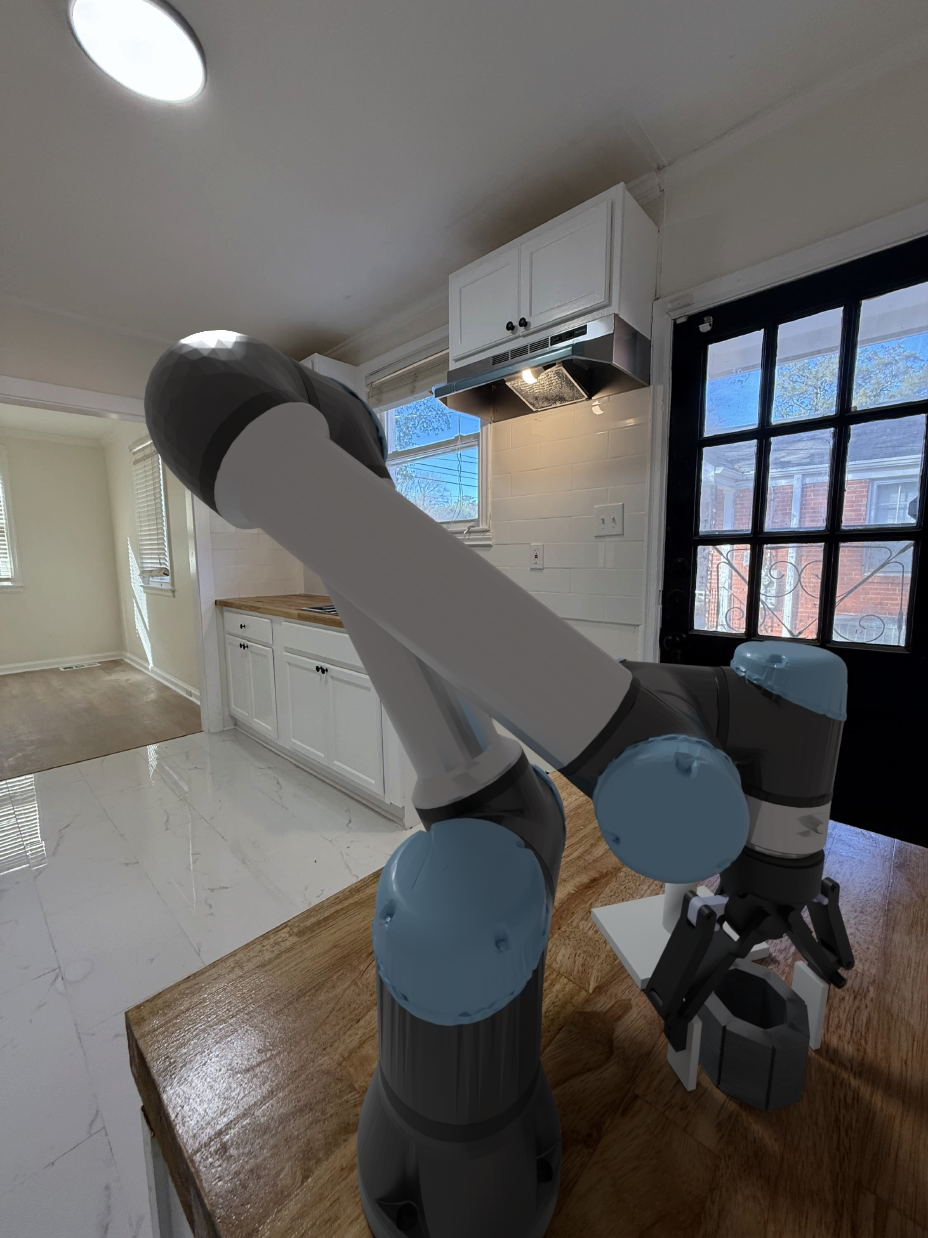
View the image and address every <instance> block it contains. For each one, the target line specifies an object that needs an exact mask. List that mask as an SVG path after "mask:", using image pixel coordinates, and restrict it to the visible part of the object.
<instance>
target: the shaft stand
mask: <svg viewBox="0 0 928 1238" xmlns="http://www.w3.org/2000/svg"><path fill="white" fill-rule="evenodd" d="M698 883H699V882H695V883H688V884H672V883H665V885H664V886H665V887H664V888H665V889H664V893H661V894H657V895H652V896H647V897H643V898H642V897H641V898H638V899H633V900H627V901H623V902H618V903H614V904H609V905H608V904H607V905H604V906H600V907H599V906H598V907H594V908H591V911H590V912H591V913H590V915H591V916H590V918H591V920H592V922H593V923H594V925H595V926H596V928H598V930H599V932H600V933H601V934H602V936H603V937H604V939H605V940H606V942H607V944H609V946H610V947H611V949H612V950H613V952H614V953H615V955H616V956H617V958H618V959H619V961H620V962H621V964H622V965H623V967H624V968H625V969H626V971H627V972H628V974H629V976H630V977H631V978H632V980H633V981H634V983H635V985H637V987H638V988H639V990H645V988H646V986H647V984H648V982H649V980H650V977H651V975H652V973H653V971H654V969H655V967H656V965H657V963H658V961H659V959H660V957H661V955H662V953H663V951H664V948H665V946H666V944H667V942H668V940H669V938H670V936H671V934H672V932H673V930H674V928H675V926H676V924H677V921H678V919H679V917H680V914H681V908H682V902H683V897H684V894H685V893H686V892H687V891H689V890H693V891H694V892H695V893H697V894H698V895H699V896H700V897H709V896H714V892H712V890H710V889H709V888H708V887H706V885H701V886H700V885H698ZM723 929H724V930H725V931H726V932H727V933H728V934H729V935H730V936H731V937H732V938H733V939H734V940H735V941H737V940H738V938H739V936H738V935H737V934H736V933H735V932H734V931H733V930H732V929H731V928H730V927H729V925H728V924H727V922H726V921H725V923H724V924H723ZM769 954H770V945H768V943H766V941H765V942H763V943H761V944H758V945H755V946H754V947H753V948H752V950H751V951H750V952H749V954H748V955H747V957H746V958H744V959H746V960H748V961H751V962H754V961H756V960H760V959H763V958H767V957H769Z"/></svg>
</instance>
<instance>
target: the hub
mask: <svg viewBox="0 0 928 1238" xmlns="http://www.w3.org/2000/svg"><path fill="white" fill-rule="evenodd" d="M696 1015H697V1016H698V1018H699V1019H700V1020H701V1021H702V1028H701V1038H700V1048H699V1058H698V1064H699V1065H700V1067H701V1068H702V1069H703V1071H704V1072H705V1073H706V1074H707V1076H708V1078H709V1079H710V1081H711V1082H712V1083H713V1085H714V1087H717V1088H718V1087H719V1091H721V1092H723V1093H725V1094H727V1095H729V1096H731V1097H733V1098H735V1099H737V1100H738V1101H741V1102H743V1103H745V1104H747V1105H749V1106H751V1107H753V1108H755V1109H758V1110H760V1111H762V1112H763V1113H765V1111H766V1112H767V1113H771V1112H774V1111H777V1110H779V1109H781V1108H784V1107H788V1106H789V1105H793V1104H795V1103H799V1102H801V1099H802V1097H803V1096H802V1095H803V1091H804V1083H805V1076H806V1069H807V1061H808V1055H809V1054H808V1053H809V1048H810V1046H809V1042H810V1029H809V1019H808V1009H807V1005H806V1004H805V1001H804V1000H803V999H802V998H801V997H800V996H799V995H798V994H797V993H796V992H795V991H794V990H793V989H792V986H790V985H789V984H788V983H787V982H785V980H784V979H783V978H782V977H781V976H780V975H779V974H778V973H777V972H776V971H775V970H771V968H770V967H767V966H764V965H761V964H759V963H755V962H754V961H748V960H746V959H741V958H737V959H736V960H735V961H734V963H733V964H732V966H731V967H730V968H729V970H728V971H727V973H726V974H725V975H724V977H723V978H722V979H721V981H720V982H719V984H718V985H717V986H716V988H715V989H714V991H713V992H712V993H711V995H710V996H709V997H708V999H707V1000H706V1002H705V1003H704V1004H703V1006H702V1007H701V1009H700V1010H699V1011H698V1013H697V1014H696Z"/></svg>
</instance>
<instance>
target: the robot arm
mask: <svg viewBox="0 0 928 1238" xmlns="http://www.w3.org/2000/svg"><path fill="white" fill-rule="evenodd" d="M143 405H144V406H143V407H144V408H143V409H144V416H145V418H144V419H145V424H146V427H147V430H148V434H149V437H150V439H151V441H152V442H151V443H152V444H153V446H154V448H155V449H156V453H158V455H159V457H160V459H161V460H162V462H163V463H164V465H166V467H167V468H168V469H169V471H170V472H171V473H172V474H173V475H174V477H176V478H177V479H178V481H179V482H180V483H181V484H182V485H184V486H185V488H186V489H187V490H188V491H189V492H191V494H193V495H194V496H196V497H197V498H198V500H200V501H201V502H202V503H203V504H205V505H206V506H207V507H208V508H210V509H211V510H212V511H214V512H215V513H216V514H217V515H218V516H220V517H221V518H222V519H223V520H224V521H226V523H228V524H229V525H231V526H232V527H235V528H237V529H240V530H255V529H256V530H257V529H260V530H261V531H262V532H264V533H265V534H266V535H267V536H269V538H270V539H272V540H274V541H275V542H276V543H277V544H279V545H280V546H281V547H282V548H283V549H285V550H286V551H287V552H288V553H290V555H292V556H293V557H295V558H296V559H297V560H298V561H299V562H300V563H301V564H303V565H304V566H305V567H306V568H308V569H309V570H310V571H311V572H313V573H314V574H316V576H318V577H319V578H320V580H321V581H322V584H323V586H324V588H325V590H326V592H327V594H328V597H329V599H330V600H331V603H332V604H333V607H334V610H335V611H336V613H337V615H338V618H339V619H340V621H341V623H342V625H343V627H344V629H345V631H346V633H347V635H348V637H349V639H350V641H351V643H352V645H353V647H354V650H355V652H356V654H357V656H358V657H359V659H360V662H361V664H362V666H363V669H365V672H366V674H367V676H368V678H369V680H370V683H371V684H372V686H373V689H374V690H375V692H376V694H377V696H378V699H379V700H380V703H381V704H382V706H383V708H384V710H385V712H386V715H387V717H388V718H389V721H390V722H391V725H392V728H393V729H394V731H395V733H396V735H397V737H398V738H399V741H400V743H401V745H402V747H403V749H404V751H405V753H406V755H407V757H408V759H409V761H410V763H411V766H412V767H413V769H414V772H415V773H416V777H417V778H416V781H415V784H414V786H413V790H412V793H411V797H410V799H411V803H412V805H413V807H414V809H415V812H416V813H417V815H418V817H419V820H420V821H421V823H422V825H423V828H424V830H425V831H424V830H422V829H420V830H418V831H416V832H414V833H413V834H411V835H410V836H409V837H406V839H404V841H403V842H402V843H401V844H400V845H398V846H397V848H395V850H394V851H393V852H392V854H391V855H390V857H389V859H388V860H387V861H386V862H385V865H384V867H383V868H382V871H381V874H380V876H379V879H378V884H377V889H376V895H375V905H374V914H373V915H374V916H373V918H372V923H371V926H372V927H371V929H372V950H373V955H374V962H375V963H374V965H375V983H376V984H375V990H376V991H375V992H376V1014H377V1015H376V1016H377V1042H378V1043H377V1045H378V1047H377V1048H378V1060H377V1063H376V1066H375V1067H374V1071H373V1074H372V1076H371V1079H370V1081H369V1085H368V1088H367V1090H366V1093H365V1096H364V1099H363V1103H362V1105H361V1110H360V1114H359V1117H358V1118H359V1119H358V1125H357V1133H356V1167H357V1168H356V1169H357V1184H358V1192H359V1197H360V1200H361V1206H362V1209H363V1212H364V1215H365V1218H366V1220H367V1223H368V1225H369V1227H370V1229H371V1232H372V1234H373V1236H374V1238H543V1237H544V1235H545V1234H546V1231H547V1229H548V1227H549V1225H550V1223H551V1220H552V1218H553V1214H554V1212H555V1209H556V1205H557V1202H558V1201H557V1200H558V1198H559V1197H558V1196H559V1193H560V1188H561V1176H562V1175H561V1174H562V1155H563V1139H562V1137H563V1136H562V1128H561V1120H560V1115H559V1114H560V1113H559V1110H558V1107H557V1106H558V1104H557V1103H556V1099H555V1096H554V1093H553V1090H552V1087H551V1085H550V1082H549V1079H548V1076H547V1073H546V1070H545V1067H544V1064H543V1061H542V1058H541V1052H542V1051H541V1050H542V1027H543V1026H542V1025H543V1024H542V1022H543V1000H544V999H543V996H544V985H545V984H544V983H545V972H546V971H545V970H546V962H547V953H548V947H549V941H550V934H551V928H552V919H553V913H554V907H555V902H556V901H555V900H556V896H557V895H556V894H557V889H558V884H559V883H558V882H559V877H560V872H561V865H562V859H563V853H565V848H566V844H567V825H566V821H567V819H566V813H565V805H564V802H563V798H562V796H561V793H560V792H559V788H557V786H556V784H555V782H554V781H553V780H552V778H551V777H550V776H549V775H548V774H547V773H546V771H544V769H542V768H541V767H540V766H538V765H537V764H536V763H535V764H533V763H531V762H530V760H529V759H528V757H527V755H526V753H525V750H524V748H523V746H522V745H521V744H520V742H522V744H524V746H526V747H527V748H528V749H530V750H531V751H533V752H534V753H535V754H536V755H537V756H538V757H540V758H541V759H542V760H543V761H545V762H546V763H547V764H548V765H550V766H551V767H552V768H553V769H554V770H555V771H557V772H558V773H559V774H561V775H562V776H563V778H565V779H566V780H567V781H568V782H570V784H572V785H573V786H574V787H576V789H578V790H579V791H581V792H582V794H584V795H585V796H586V797H588V798H589V799H590V800H591V801H592V805H593V810H594V812H593V813H594V816H595V819H596V821H597V822H596V823H597V825H598V828H599V831H600V834H601V837H602V838H603V840H604V842H605V844H606V845H607V846H608V848H609V850H610V851H611V853H612V854H613V856H614V857H616V858H617V860H619V862H620V863H621V864H623V865H625V867H627V868H628V869H630V870H631V871H632V872H635V873H637V874H638V875H641V876H642V877H645V878H647V879H650V880H654V881H656V882H660V883H665V884H666V883H672V884H688V883H695V882H698V883H699V882H703V881H705V880H709V879H710V878H714V877H715V876H717V875H718V876H719V883H718V886H717V888H716V889H715V892H713V894H714V896H709V897H700V896H699V895H698V894H697V893H695V892H694V891H693V890H689V891H687V892H686V893H685V894H684V897H683V902H682V908H681V914H680V917H679V919H678V921H677V924H676V926H675V928H674V930H673V932H672V934H671V936H670V938H669V940H668V942H667V944H666V946H665V948H664V951H663V953H662V955H661V957H660V959H659V961H658V963H657V965H656V967H655V969H654V971H653V973H652V975H651V977H650V980H649V982H648V984H647V986H646V988H645V989H644V993H643V994H644V995H645V996H646V998H647V999H648V1001H649V1002H650V1003H651V1005H652V1007H653V1008H654V1009H655V1011H656V1012H657V1014H658V1015H659V1017H660V1018H661V1019H662V1021H663V1030H662V1031H663V1034H664V1035H663V1036H664V1037H665V1038H666V1040H667V1041H668V1043H667V1055H666V1060H667V1061H668V1063H669V1064H670V1067H672V1069H673V1071H674V1072H675V1074H676V1075H677V1077H678V1079H679V1080H680V1082H681V1083H682V1085H683V1086H684V1088H685V1089H686V1091H687V1092H691V1091H693V1090H696V1088H697V1078H698V1069H699V1068H698V1066H699V1062H698V1058H699V1048H700V1038H701V1028H702V1021H701V1020H700V1019H699V1018H698V1016H697V1015H696V1014H697V1013H698V1011H699V1010H700V1009H701V1007H702V1006H703V1004H704V1003H705V1002H706V1000H707V999H708V997H709V996H710V995H711V993H712V992H713V991H714V989H715V988H716V986H717V985H718V984H719V982H720V981H721V979H722V978H723V977H724V975H725V974H726V973H727V971H728V970H729V968H730V967H731V966H732V964H733V963H734V961H735V960H736V959H737V958H741V959H744V958H746V957H747V955H748V954H749V952H750V951H751V950H752V948H753V947H754V946H755V945H758V944H761V943H763V942H765V943H766V941H768V940H771V941H774V940H775V941H777V940H781V939H783V938H784V935H786V937H787V938H788V940H790V942H791V943H792V944H793V946H794V948H796V950H797V951H798V953H799V954H800V955H801V957H802V958H803V960H805V962H807V964H806V963H805V962H804V961H803V960H798V961H794V966H793V972H792V981H791V988H792V989H793V990H794V991H795V992H796V993H797V994H798V995H799V996H800V997H801V998H802V999H803V1000H804V1001H805V1004H806V1005H807V1009H808V1019H809V1029H810V1042H809V1048H811V1050H812V1051H815V1050H817V1049H821V1045H822V1044H821V1043H822V1036H823V1028H824V1023H825V1017H826V1008H827V1006H828V1003H829V999H830V993H831V992H830V991H831V985H832V986H834V987H835V988H836V989H837V990H842V989H843V988H844V987H845V986H846V984H847V983H848V978H847V977H846V976H844V974H842V973H841V972H840V971H839V970H840V969H843V970H845V971H847V972H849V971H850V970H851V971H852V970H853V968H854V967H855V964H856V960H855V957H854V954H853V949H852V946H851V943H850V940H849V935H848V933H847V932H848V931H847V930H846V929H847V928H846V925H845V922H844V918H843V915H842V912H841V911H842V910H841V908H840V893H841V892H840V891H841V890H840V889H841V884H840V883H839V882H837V881H836V880H835V879H833V878H832V877H830V876H828V875H827V874H826V873H825V872H824V867H825V860H826V853H825V850H824V848H825V847H826V845H827V840H828V839H827V838H828V830H829V823H830V815H831V805H832V799H833V798H834V797H833V796H834V790H835V789H834V785H835V784H834V783H835V779H836V777H835V776H836V773H837V765H838V759H839V756H840V755H839V753H840V747H841V742H842V737H843V736H842V734H843V731H844V730H843V729H844V724H845V721H846V720H847V717H848V715H847V699H848V687H849V686H848V668H847V665H846V663H845V661H844V660H843V659H842V658H841V657H840V656H839V655H837V654H835V653H833V652H832V651H830V650H828V649H825V648H821V647H818V646H813V645H810V644H809V645H808V644H803V643H796V642H789V641H776V640H764V641H747V642H744V643H741V644H740V645H738V646H737V647H736V649H735V650H734V653H733V658H732V659H731V660H730V666H728V665H727V666H703V665H701V666H700V665H692V664H691V665H687V664H676V663H662V662H651V661H639V660H637V661H636V660H629V659H627V658H618V659H615V658H614V657H612V656H611V655H609V654H608V653H607V652H606V651H605V650H603V649H602V648H601V647H599V646H598V645H596V644H595V643H594V642H593V641H592V640H590V639H589V638H588V637H586V636H585V635H584V634H583V633H581V632H580V631H579V630H577V629H576V628H574V627H573V625H571V624H570V623H568V622H567V621H566V620H565V619H563V618H562V617H561V616H559V615H558V614H557V613H556V612H554V611H553V610H552V609H550V608H548V606H547V605H546V604H543V603H542V602H541V600H539V599H538V598H536V597H535V596H533V595H532V594H531V593H530V592H529V591H527V590H526V589H525V588H523V587H522V586H521V585H519V584H518V583H517V582H515V581H514V580H513V579H511V578H510V577H509V576H507V575H506V574H505V573H503V572H502V571H501V570H500V569H498V568H497V567H496V566H495V565H493V564H492V563H491V562H490V561H488V560H487V559H486V558H484V557H483V555H480V554H479V553H478V552H477V551H475V550H474V549H473V548H472V547H471V546H468V545H467V544H466V543H465V542H464V541H462V540H461V539H460V538H459V537H457V535H454V534H453V533H452V532H451V531H450V530H449V529H447V528H446V527H444V526H443V525H442V524H440V523H439V522H438V521H437V520H436V519H434V518H433V517H431V516H430V515H428V514H427V513H426V512H425V511H423V510H422V509H421V508H420V507H418V506H417V505H416V504H414V503H413V502H412V501H411V500H409V498H407V497H405V496H404V495H403V494H402V493H400V492H399V491H398V490H397V489H396V487H397V486H396V484H395V482H394V480H393V478H392V476H391V474H390V472H389V469H388V467H387V465H386V463H387V459H388V455H389V454H388V451H389V450H388V443H387V442H388V440H387V438H386V437H387V436H386V432H385V431H384V426H383V425H382V422H381V421H380V419H379V418H378V415H377V414H376V412H375V410H373V409H372V407H371V406H370V405H369V404H368V403H367V402H366V401H365V400H364V399H363V398H362V397H360V395H359V394H358V393H357V392H356V391H354V390H353V389H352V388H350V387H349V386H348V385H346V384H345V383H343V382H341V381H339V380H337V379H335V378H334V377H330V376H328V375H324V374H321V373H320V372H318V371H316V370H314V369H312V368H310V367H309V366H307V365H305V364H303V363H301V362H299V361H298V360H295V359H294V358H293V357H292V356H289V355H287V354H286V353H284V352H282V351H280V350H279V349H277V348H276V347H273V346H272V345H270V344H268V343H267V342H265V341H263V340H260V339H258V338H256V337H255V336H250V335H247V334H243V333H238V332H235V331H229V330H208V331H203V332H199V333H195V334H191V335H189V336H186V337H184V338H181V339H180V340H178V341H176V342H175V343H174V344H171V346H169V347H168V348H167V349H166V350H165V351H164V352H163V353H162V354H161V355H160V356H159V358H158V359H157V361H156V363H155V364H154V365H153V367H152V369H151V371H150V373H149V376H148V380H147V382H146V385H145V391H144V399H143ZM492 719H493V720H494V721H496V722H497V723H498V724H499V725H500V726H501V727H503V728H504V729H505V730H507V732H508V733H510V734H511V735H512V736H514V737H515V738H516V739H517V740H516V739H514V738H510V737H508V736H506V735H502V734H500V733H498V731H497V729H496V727H495V725H494V723H493V721H492ZM518 740H519V741H520V742H519V741H518ZM805 907H806V908H807V912H808V915H809V918H810V921H811V925H812V928H813V930H814V932H813V930H812V929H811V927H810V926H809V925H808V923H807V922H806V920H805V919H804V916H803V914H802V912H803V910H804V909H805ZM725 921H726V922H727V924H728V925H729V927H730V928H731V929H732V930H733V931H734V932H735V933H736V934H737V935H738V936H739V938H738V940H737V941H735V940H734V939H733V938H732V937H731V936H730V935H729V934H728V933H727V932H726V931H725V930H724V929H723V924H724V923H725ZM813 933H814V935H815V937H816V938H815V937H814V935H813Z"/></svg>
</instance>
